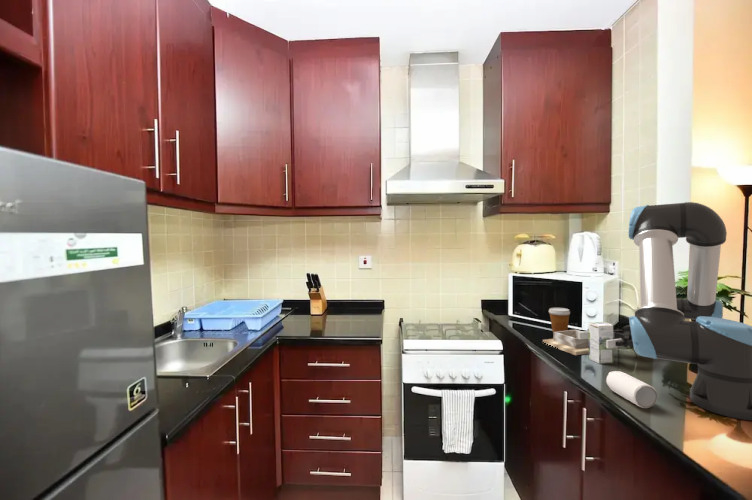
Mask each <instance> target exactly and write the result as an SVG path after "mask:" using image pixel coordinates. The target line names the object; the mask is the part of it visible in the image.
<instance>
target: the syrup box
mask: <svg viewBox="0 0 752 500" xmlns="http://www.w3.org/2000/svg"><path fill="white" fill-rule="evenodd" d="M587 325H588V326H587V331H588V332H589V354H588V359H589V360H590V361H592V362H594V363H597V364H599V365H601V364H604V365H605V364H614V348H606V340H612V339H613V337H614V334H613V330H614V325H613V324H611V323H609V322H605V321H594V322H593V321H592V322H591V321H589V322H588V323H587Z"/></svg>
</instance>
